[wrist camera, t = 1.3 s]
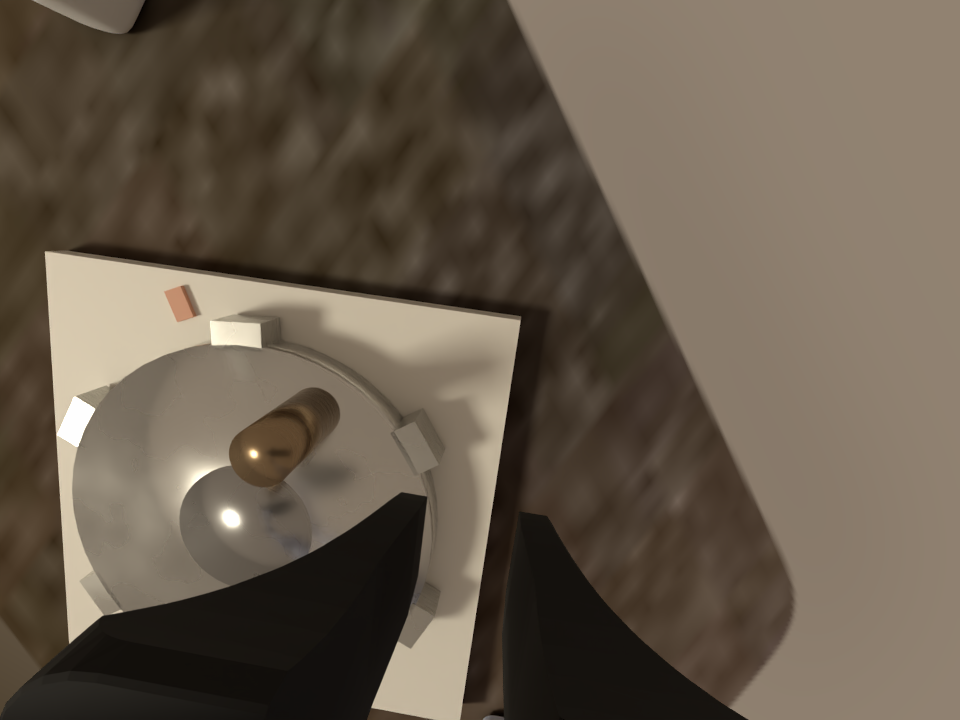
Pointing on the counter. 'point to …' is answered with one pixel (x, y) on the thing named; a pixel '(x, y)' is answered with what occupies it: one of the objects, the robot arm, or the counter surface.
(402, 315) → the cap plate
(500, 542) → the counter surface
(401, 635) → the tabbed shallow bowl
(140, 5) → the eye dropper bottle
